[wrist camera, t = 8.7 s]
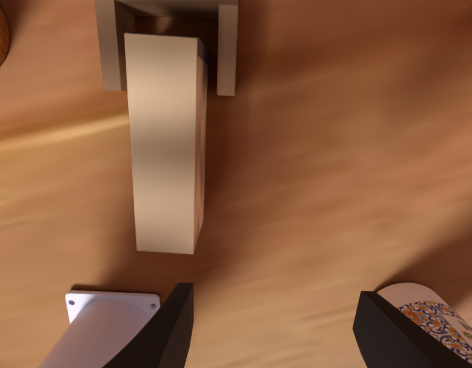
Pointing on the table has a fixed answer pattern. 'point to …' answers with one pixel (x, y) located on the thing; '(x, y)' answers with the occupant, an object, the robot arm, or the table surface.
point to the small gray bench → (164, 5)
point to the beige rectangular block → (167, 138)
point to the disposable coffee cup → (3, 36)
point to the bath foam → (431, 316)
